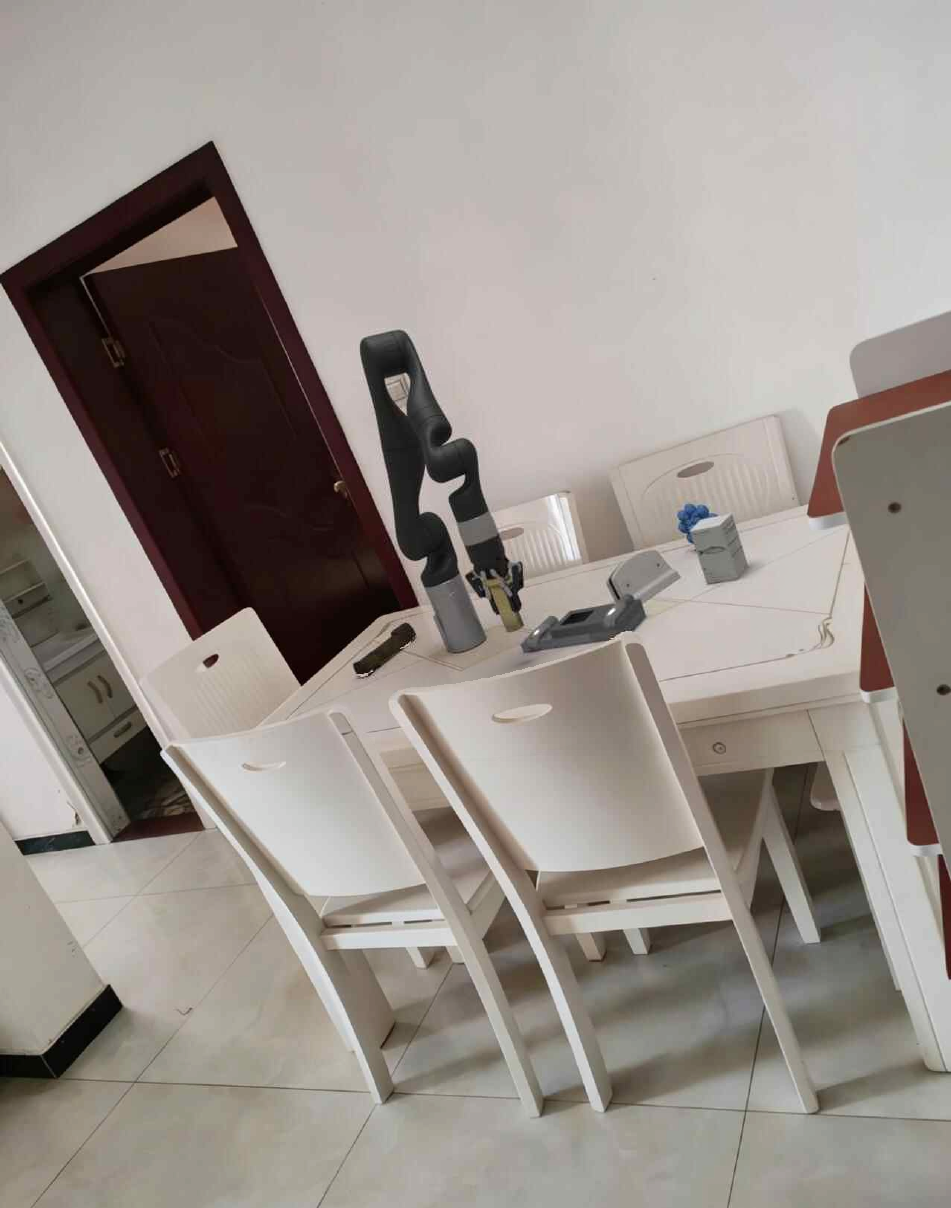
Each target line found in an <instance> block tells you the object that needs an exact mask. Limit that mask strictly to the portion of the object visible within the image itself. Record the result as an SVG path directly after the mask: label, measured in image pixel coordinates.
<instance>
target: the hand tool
mask: <svg viewBox="0 0 951 1208" xmlns="http://www.w3.org/2000/svg"><path fill="white" fill-rule="evenodd" d="M415 636H416V637H417V633H416V631H415V629H414V627H413V626H412V625H411V624H410V623H409V622H403V623H401V624H400V625H399V626H397V627H396V628H394V629H393V630H392V631H391V632H390V636H389V638H387V639H385V641H384V642H382V643H381V644H379V645H378V646H376V647H375V648H374V649H373V650H371V651H370V652H369V653H367V654H366V655H364V657H362V658H361V659H360V660H357V661H355V662H353V663H352V668H353V670H354V672H355V674H364V673H369V672H370V671H371V670H373V669H374V668H375V667H376V668H377V665H379V664H380V663H381V662H382V663H383V661H384V660H385V661H386V659H387V658H388V659H389V658H390V657H392V656H393V655H394V654H395V653H396V652H397V651H400V650H401V649H400V648H401V647H404V646H405V645H406V644H408V643H409V642H410V641H412V640H413V638H415ZM415 639H416V638H415ZM413 641H414V640H413ZM391 655H392V656H391ZM389 656H390V657H389ZM388 659H387V660H388ZM385 661H384V662H385ZM382 663H381V664H382ZM381 664H380V665H381ZM380 665H379V666H380ZM376 668H375V669H376ZM375 669H374V670H375Z"/></svg>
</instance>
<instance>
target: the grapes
mask: <svg viewBox="0 0 951 1208" xmlns="http://www.w3.org/2000/svg"><path fill="white" fill-rule="evenodd" d="M683 509H684V510H683ZM683 509H680V510H679V511H677V514H676V516H677V519H678V520H679V521H680V522H679V523H678V525H677V528H678V530H679V531H680V533H682V534H685V535H686V534H687V535H686V541H687V543H689V544H692V545H694V543H693V540H692V537H691V534H690V530H691V529H692V528H693V527H694V526H695V525H696V524H697V523H698V522H699V521H700V520H702V519H706V518H711V517H717V516H719V514H716V513H715V512H710V509H709V508H708V507H707V506H706V505H705V504H698V505H695V504H693V503H691V502H690V503H685V505H684V506H683Z"/></svg>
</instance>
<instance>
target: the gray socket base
mask: <svg viewBox="0 0 951 1208" xmlns="http://www.w3.org/2000/svg"><path fill="white" fill-rule="evenodd" d="M646 617H647V613H646V611H645V609H644V606H643V604H642V603H641V600H640V599H637V600H635V598H634V597H633V596H632V595H631V594H624V595H623V596H622V597H621V598H620V599H619V600H618V601H617V602H613V603H609V604H603V605H598V606H591V607H590V606H589V607H585V608H584V607H583V608H579V609H574V610H569V611H568V612H567V613H566V614H565V615H563V617H562V618H561V619H560V620H559V619H558V617H556V616H555V615H548V617H546V618H545V620H543V621H542V622H541V623H540V624H539V625H538V626H537V627H535V629H534V630H533V631H532V632H531V633H529V635H528V636H527V637H525V639H524V640H523V641H522V642H521V643H520V647H521V649H522V652H523V653H529V652H528V651H530V652H534V650H536V651H540V650H539V649H543V650H549V649H548V648H550V649H555V648H554V647H557V648H563V647H570V646H577V645H582V644H590V643H597V642H605V641H610V640H609V639H610V638H614V637H615V636H616V635H618V634H620V633H621V632H625V631H633V632H634V631H635V629H636V628H637V627H638V626H639V625H640V624H641V623H642V621H644V619H645V618H646ZM562 646H563V647H562Z"/></svg>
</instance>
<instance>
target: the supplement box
mask: <svg viewBox="0 0 951 1208" xmlns="http://www.w3.org/2000/svg"><path fill="white" fill-rule="evenodd" d="M734 518H735V517H734V515H733V513H728V514H722V515H718V516H717V517H711V518H706V519H702V520H700V521H699V522H698V523H697V524H696V525H695V526H694V527H693V528H692V529H691V530H690V534H691V537H692V540H693V543H694V544H693V545H694V546H693V547H694V548H695V552H696V555H697V558H698V560H699V561H698V562H699V564H700V567H701V570H702V574H703V576H704V579H705V583H706V585H710V584H714V583H719V582H720V583H721V582H727V581H735V580H738V579H739V578H740V577H742V575H743V574H744V573H745V571H746V570H747V569H748V568H749V564H748V561H747V558H746V555H745V551H744V548H743V545H742V541H741V539H740V538H741V537H740V535H739V532H738V529H737V525H736V522H735V519H734Z"/></svg>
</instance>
